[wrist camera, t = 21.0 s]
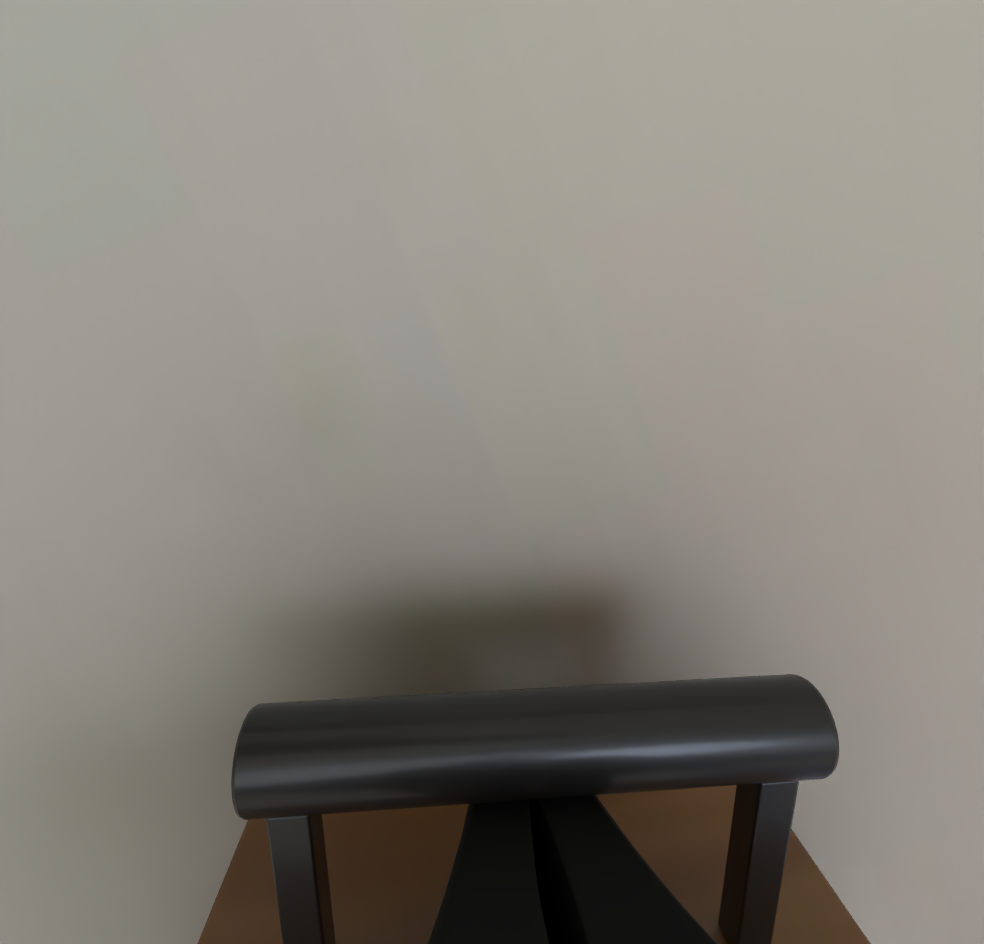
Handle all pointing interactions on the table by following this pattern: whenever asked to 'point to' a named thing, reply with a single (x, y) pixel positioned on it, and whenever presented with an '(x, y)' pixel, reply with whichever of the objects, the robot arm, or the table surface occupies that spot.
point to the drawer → (525, 776)
